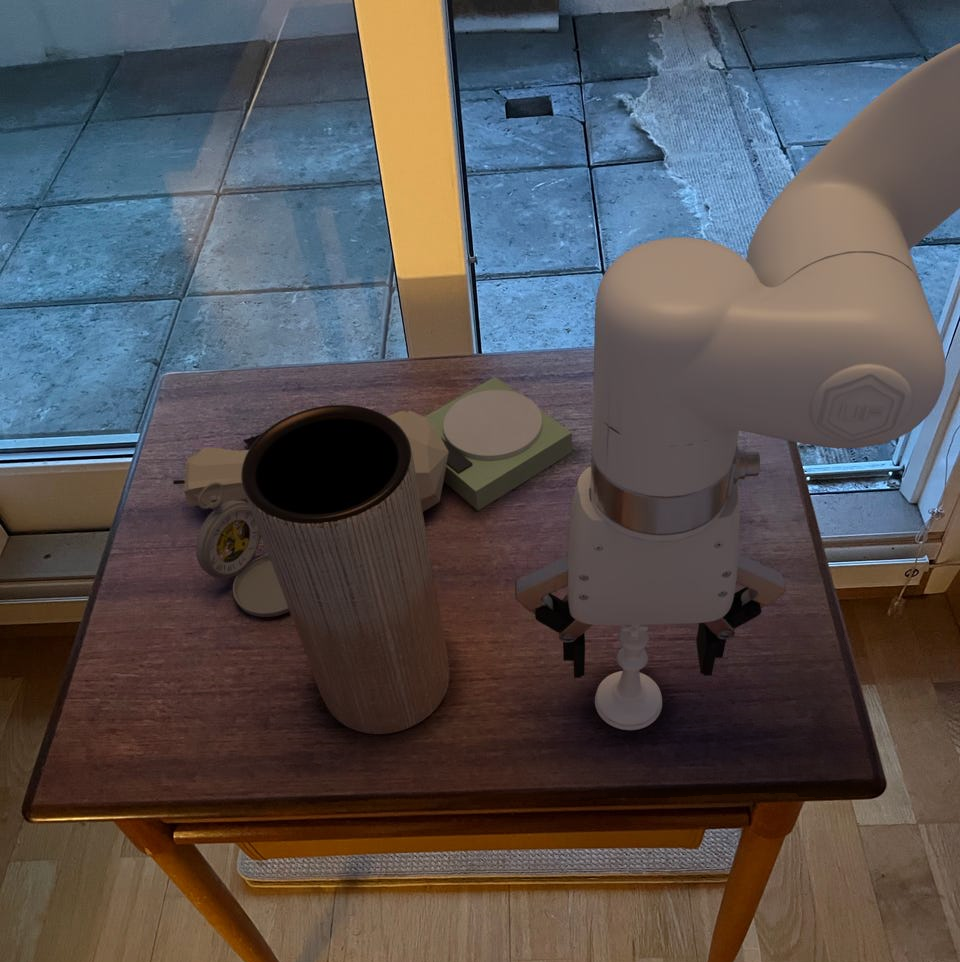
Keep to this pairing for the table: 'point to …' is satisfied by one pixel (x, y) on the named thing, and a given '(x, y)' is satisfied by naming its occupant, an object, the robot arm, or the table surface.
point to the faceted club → (229, 463)
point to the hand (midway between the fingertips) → (640, 659)
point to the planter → (352, 561)
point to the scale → (496, 441)
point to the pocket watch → (238, 556)
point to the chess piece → (629, 685)
